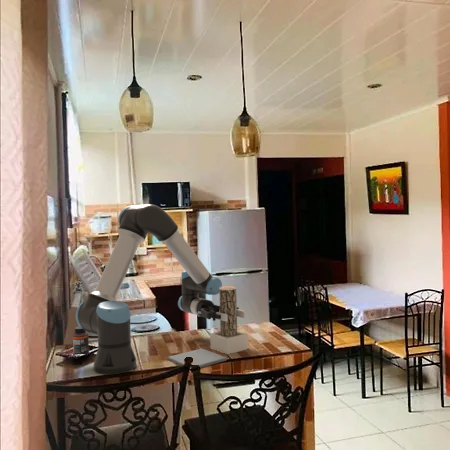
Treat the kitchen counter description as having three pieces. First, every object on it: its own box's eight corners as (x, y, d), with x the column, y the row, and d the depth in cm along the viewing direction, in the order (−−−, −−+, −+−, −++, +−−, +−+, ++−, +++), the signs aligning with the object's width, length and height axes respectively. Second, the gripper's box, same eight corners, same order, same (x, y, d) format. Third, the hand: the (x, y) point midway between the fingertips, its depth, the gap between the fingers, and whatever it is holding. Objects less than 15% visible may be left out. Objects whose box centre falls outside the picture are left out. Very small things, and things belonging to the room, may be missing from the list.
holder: (227, 354, 183) (226, 339, 183) (210, 348, 192) (210, 333, 191) (248, 348, 190) (247, 334, 190) (231, 343, 198) (231, 329, 198)
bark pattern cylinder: (236, 351, 187) (234, 288, 186) (219, 350, 188) (217, 288, 187) (239, 346, 193) (237, 286, 193) (222, 345, 195) (221, 285, 194)
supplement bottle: (82, 352, 191) (81, 324, 191) (92, 354, 188) (91, 326, 187) (70, 356, 186) (69, 328, 186) (80, 358, 183) (79, 329, 182)
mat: (190, 370, 166) (190, 367, 166) (167, 359, 179) (167, 356, 179) (226, 360, 176) (226, 357, 176) (202, 350, 189) (202, 348, 188)
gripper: (222, 312, 211) (255, 321, 193) (182, 320, 198) (214, 330, 180) (221, 295, 211) (255, 303, 193) (182, 302, 198) (214, 310, 180)
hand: (235, 316), depth 187 cm, fingers open, 8 cm apart
